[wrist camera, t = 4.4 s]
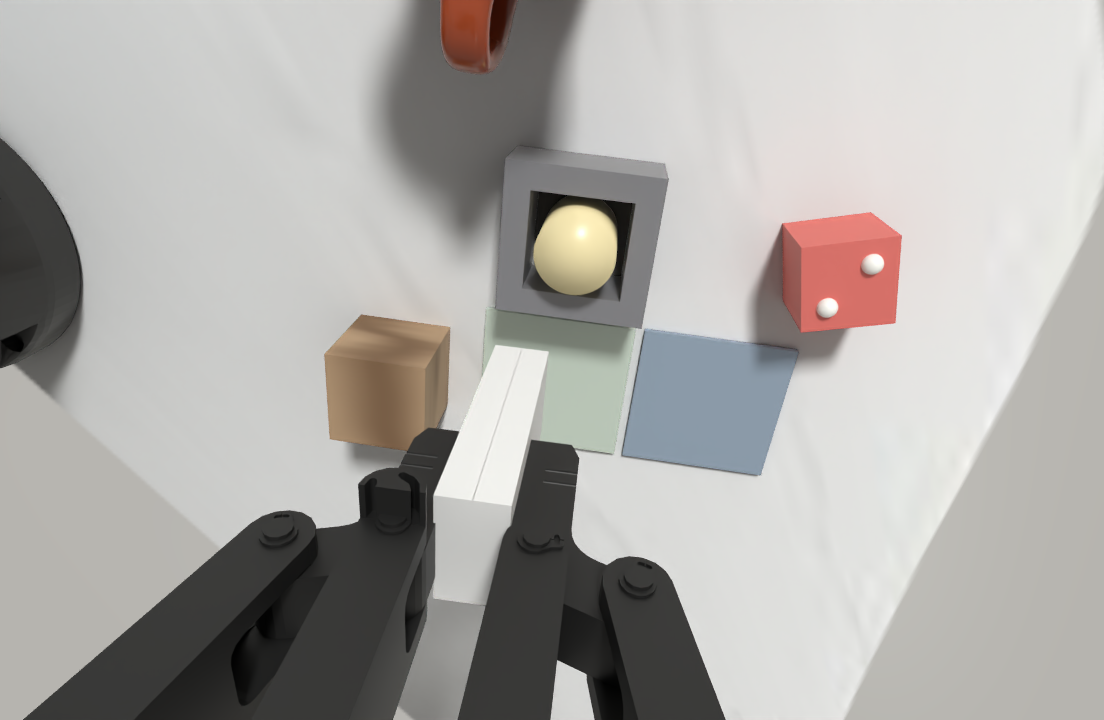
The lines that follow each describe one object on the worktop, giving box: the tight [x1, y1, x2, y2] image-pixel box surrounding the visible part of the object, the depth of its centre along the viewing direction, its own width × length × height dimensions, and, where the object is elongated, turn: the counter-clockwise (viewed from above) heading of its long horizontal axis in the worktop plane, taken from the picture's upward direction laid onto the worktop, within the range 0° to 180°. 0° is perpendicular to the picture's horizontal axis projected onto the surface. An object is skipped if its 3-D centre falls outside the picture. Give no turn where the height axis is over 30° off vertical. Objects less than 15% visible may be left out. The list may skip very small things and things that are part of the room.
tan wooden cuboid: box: [324, 315, 450, 451], centre depth 35 cm, size 5×5×5 cm
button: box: [534, 195, 618, 295], centre depth 30 cm, size 4×4×4 cm
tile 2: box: [622, 329, 799, 475], centre depth 36 cm, size 8×8×1 cm
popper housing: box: [495, 146, 669, 329], centre depth 31 cm, size 7×7×4 cm
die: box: [782, 212, 902, 333], centre depth 30 cm, size 4×4×4 cm
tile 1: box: [482, 307, 636, 454], centre depth 36 cm, size 8×8×1 cm
